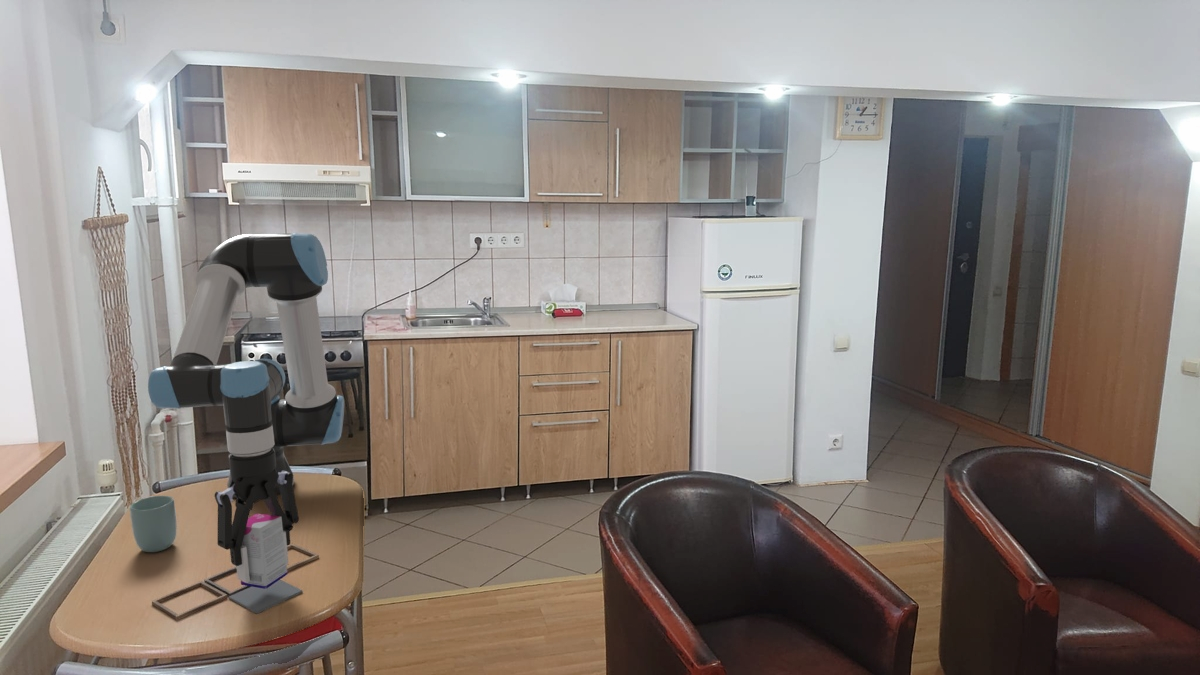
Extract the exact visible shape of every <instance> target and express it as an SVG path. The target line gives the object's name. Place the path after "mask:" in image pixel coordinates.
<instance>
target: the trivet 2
mask: <svg viewBox="0 0 1200 675" xmlns="http://www.w3.org/2000/svg"><path fill="white" fill-rule="evenodd" d="M289 549H294V550H296V551H299V552H301V553H303V554H306V555H307V556H310V557H308V558H305V559H303V560H301V561H299V562H297V563H293V564H292V565H289V566H287V573H288V572H290V571H292V570H294V569H297V568H299V567H301V566H303V565H305V564H307V563H310V562H312V561H314V560H317V559H319V558H320V555H319V553H315V552H314V551H311V550H309V549H306V548H303V547H301V546H299V545H297V544H294V543H290V545H288V546H287V551H288V550H289Z"/></svg>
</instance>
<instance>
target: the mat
mask: <svg viewBox="0 0 1200 675" xmlns="http://www.w3.org/2000/svg"><path fill="white" fill-rule="evenodd" d="M302 593H303V589H301V588H299V587H297V586H294V585H292V584H290V583H288V582H286V581H284V580H282V579H280V580H279V581H277V582H276V583H274V584H273V585H271V586H270V587H269V588H267V589H263V588H257V587H250V588H247V589H245V590H243V591H240V592H238V593H236V594H234V595H231V596H228V599H230V601H232V602H235V603H237V604H238V605H240V606H242V607H244V608H245V609H247V610H249V611H251V612H252V613H255V614H259V613H262V612H264V611H266V610H268V609H270V608H272V607H275V606H276V605H279V604H280V603H283V602H284V601H287V600H289V599H291V598H294V597H296V596H297V595H300V594H302Z"/></svg>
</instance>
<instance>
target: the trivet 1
mask: <svg viewBox="0 0 1200 675" xmlns="http://www.w3.org/2000/svg"><path fill="white" fill-rule="evenodd" d="M198 587H203V588H204V589H206V590H208V591H210V592H212V593H213V594H214V595H217V596H218V597H215V598H213V599H210V600H209V601H206V602H204V603H201V604H200V605H197V606H194V607H193V608H190V609H188V610H185V611H183V612H180V613H179V614H178V613H176V612H175V611H173V610H172V609H170V608H169V607H167V606H165V605H164V604H162V602H165V601H167V600H169V599H172V598H174V597H176V596H179V595H182V594H183V593H186V592H189V591H190V590H194V589H196V588H198ZM226 599H229V596H228V595H227V594H225V593H223V592H221V591H219V590H218V589H216V588H214V587H212V586H210V585H208V584H207V583H205V582H204V581H203V580H200V581H198V582H195V583H193V584H191V585H187V586H185V587H183V588H180V589H178V590H176V591H173V592H170V593H168V594H166V595H163V596H162V597H159V598H156V599H154V600H151V605H152V606H154V607H156V608H157V609H159V610H161V611H162V612H164V613H165V614H167V615H169V616H170V617H171V618H173V619H175V620H177V621H178V620H180V619H182V618H184V617H188V616H189V615H192V614H193V613H195V612H199V611H201V610H203V609H205V608H208V607H210V606H212V605H214V604H216V603H218V602H221V601H224V600H226Z"/></svg>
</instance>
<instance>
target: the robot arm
mask: <svg viewBox="0 0 1200 675" xmlns="http://www.w3.org/2000/svg"><path fill="white" fill-rule="evenodd" d="M327 267H328V264H327V258H326V255H325V251H324V248H323V245H322V243H321V240H320V239H319V238H318V237H317V236H316V235H315V234H312V233H298V232H291V233H261V234H260V233H259V234H257V233H256V234H255V233H254V234H252V233H248V234H247V233H246V234H245V233H244V234H240V235H237V236H234V237H233V236H232V238H231V237H230V238H229V239H227V240H225V241H223V242H222V243H221V244H219V245H218V246H217V247H215V248H214V249H213V250H212V251H210V252H209V254H208V255H207V256H206V257H205V258H204V260H203V261H202V263H201V264H200V266H199V268H198V270H197V273H196V277H195V284H196V286H197V290H196V293H195V295H194V298H193V300H192V303H191V306H190V309H189V312H188V314H187V318H186V320H185V322H184V327H183V329H182V332H181V335H180V337H179V340H178V343H177V346H176V350H175V352H174V354H173V357H172V360H171V363H170V364H169V366H166V365H164V366H160V367H155V368H154V369H152V370H151V371H150V374H149V376H148V382H147V390H148V391H147V392H148V396H149V398H150V400H151V403H152V405H153V406H155V407H156V408H158V409H159V408H161V409H184V408H198V407H199V408H200V407H201V408H202V407H213V406H223V416H224V425H225V435H226V446H227V451H228V453H229V454H228V464H229V475H228V479H227V484H226V485H227V486H226V487H227V488H226V489H224V490H223V491H216V492H215V493H214V494H213V495H214V499H215V501H216V503H217V504H216V505H217V543H216V544H217V546H218V547H220V548H222V549H225V550H229V553H230V554H229V555H230V562H231V564H232V565H233V566H234V567H236V568H237V571H236V576H237V580H239V581H240V582H241V581H243V582H245V583H247V582H249V581H250V577H249V567H248V557H247V547H246V546H243V545H242V543H243V538H244V534H245V530H246V526H247V521H248V518H249V517H250V512H251V511H252V510H253V506H254V504H256V503H258V502H259V501H264V503H265V505H266V507H267V509H268V510H269V513H270V514H271V515H272V516H280V517H282V527H283V536H284V546H285V556H286V565H287V566H288V565H289V563H290V562H289V553H288V550H287V546H288V545H290V544H291V534H290V532H291V531H292V530H293V528H294V524H297V523H299V520H300V518H299V513H298V507H297V502H296V498H295V493H294V489H293V487H294V485H295V478H294V473H293V471H292V469H291V467H290V465H289V462H288V460H287V457H286V456H285V452H284V447H294V446H296V447H297V446H309V445H321V446H323V445H325V444H326V445H328V444H335V443H337V442H338V441H339V440H340V439H341V437H342V433H343V428H344V427H343V424H344V417H345V416H344V415H345V414H344V413H345V398H344V396H342V395H339V394H337V392H336V388H335V387H334V386H333V385H332V384H329V382H328V373H327V367H326V359H325V354H324V353H325V351H324V344H323V336H322V330H321V329H322V328H321V324H320V323H321V322H320V316H319V315H320V314H319V307H318V301H317V297H318V296H319V295H320V294H321V293H322V292H323V286H325V285H326V284H327V283H328V279H329V273H328V272H329V271H328V268H327ZM247 288H266V290H267V296H268V297H269V299H271V300H273V301H274V302H276V308H277V314H278V320H279V326H280V331H281V338H282V345H283V351H284V356H285V363H286V364H285V365H286V371H287V374H288V375H287V376H288V382H289V386H290V389H289V390H288V391H287V392H286V394H285V396H284V398H281V397H280V393H281V392H282V391H283V387H284V386H285V384H286V374H285V370H284V369H283V367H282V366H281V364H279V363H278V362H277V361H275V360H273V359H271V358H259V359H255V360H244V361H236V362H231V363H227V364H225V363H224V364H218V361H219V357H220V356H221V355H220V354H221V351H222V349H223V344H224V341H225V338H226V335H227V331H228V329H229V328H228V327H229V325H230V322H231V318H232V315H233V311H234V309H235V308H234V307H235V305H236V301H237V299H238V298H240V297H241V296H242V295H243V293H244V292H245V291H246V290H245V289H247ZM279 494H280V499H281V503H282V506H281V504H280V501H279V500H278V495H279ZM233 498H234V499H236V500H235V504H234V505H235V511H234V515H233V506H232V502H233V501H234V499H233ZM282 507H283V508H282ZM289 566H290V565H289Z"/></svg>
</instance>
